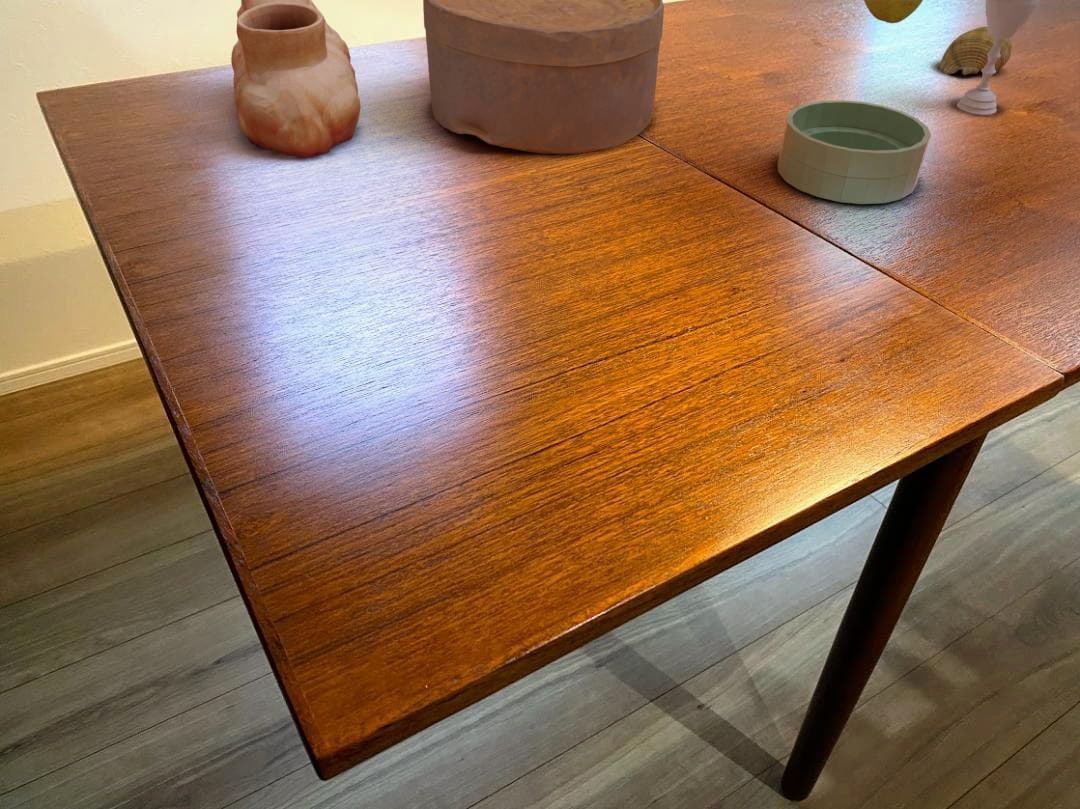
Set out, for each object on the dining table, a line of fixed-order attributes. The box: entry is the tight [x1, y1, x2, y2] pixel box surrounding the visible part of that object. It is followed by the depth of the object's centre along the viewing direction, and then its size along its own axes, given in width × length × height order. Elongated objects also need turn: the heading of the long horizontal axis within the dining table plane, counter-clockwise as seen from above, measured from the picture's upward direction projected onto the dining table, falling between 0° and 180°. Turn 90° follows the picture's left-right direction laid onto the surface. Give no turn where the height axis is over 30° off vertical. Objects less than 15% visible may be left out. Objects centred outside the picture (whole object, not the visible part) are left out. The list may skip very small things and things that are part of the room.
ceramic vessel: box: [230, 0, 361, 158], centre depth 101 cm, size 14×26×15 cm, turn 18°
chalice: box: [956, 0, 1041, 116], centre depth 105 cm, size 7×7×18 cm
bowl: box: [777, 99, 932, 205], centre depth 93 cm, size 14×14×6 cm
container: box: [422, 0, 665, 155], centre depth 103 cm, size 28×28×15 cm
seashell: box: [938, 26, 1013, 76], centre depth 121 cm, size 10×7×8 cm
